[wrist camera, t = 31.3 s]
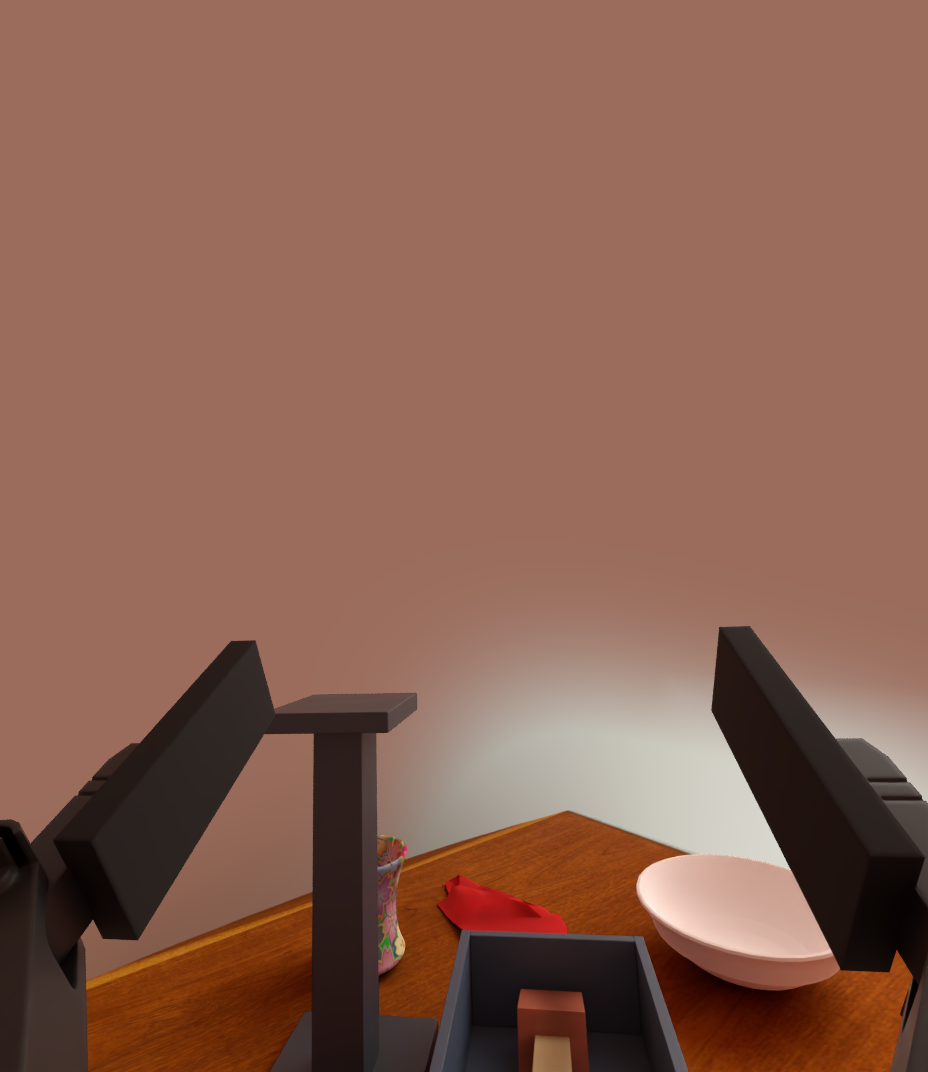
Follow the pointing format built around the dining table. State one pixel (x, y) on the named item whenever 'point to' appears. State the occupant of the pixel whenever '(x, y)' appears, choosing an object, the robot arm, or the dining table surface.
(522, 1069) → the mallet
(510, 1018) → the bin
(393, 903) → the mug
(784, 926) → the bowl
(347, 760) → the stand
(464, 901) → the cloth
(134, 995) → the dining table surface
